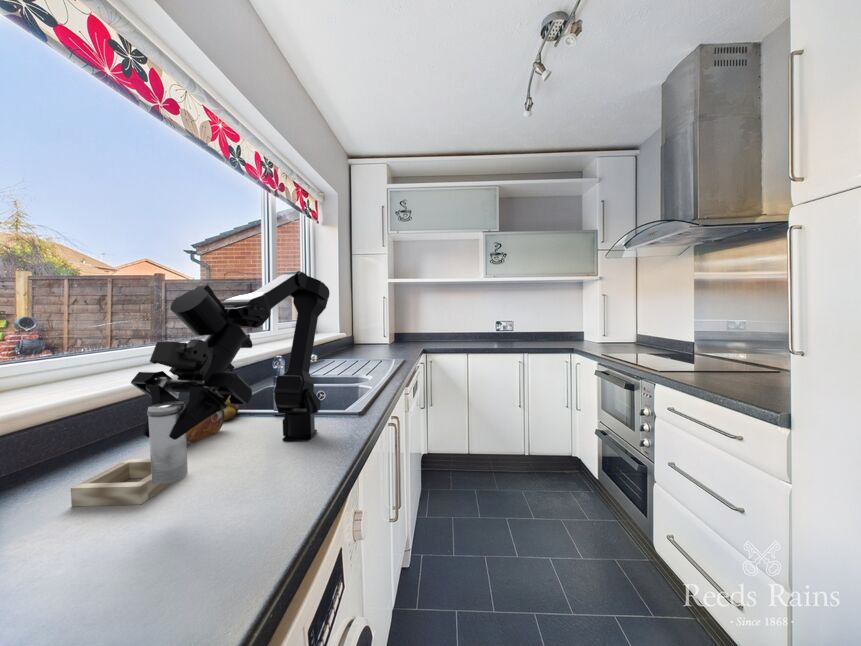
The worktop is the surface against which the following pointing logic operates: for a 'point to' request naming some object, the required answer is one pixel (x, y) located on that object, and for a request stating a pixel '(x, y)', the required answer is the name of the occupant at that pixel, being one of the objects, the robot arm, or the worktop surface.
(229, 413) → the bread roll
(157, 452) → the silver metal canister
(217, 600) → the worktop surface
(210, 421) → the tin
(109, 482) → the collar
